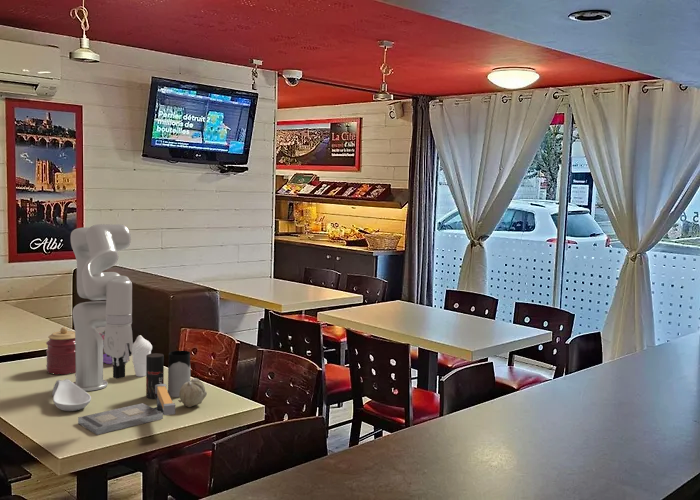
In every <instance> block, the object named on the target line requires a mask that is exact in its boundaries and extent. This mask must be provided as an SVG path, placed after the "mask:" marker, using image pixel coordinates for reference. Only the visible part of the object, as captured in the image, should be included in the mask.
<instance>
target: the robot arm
mask: <svg viewBox="0 0 700 500" xmlns="http://www.w3.org/2000/svg"><path fill="white" fill-rule="evenodd" d="M131 240H132V236H131V231H130V230H129V228H128V227H127V226H126V225H124V224H121V223H117V224H116V223H115V224H113V223H110V224H105V223H103V224H102V223H101V224H94V225H92V226H90V227H88V226H87V227H78V228H75V229H73V230H72V231H71V233H70V245H71V249H72V250H73V254H74V256H75V260H76V290H77V295H78V296H79V297H80V298H82V299H87V300H90V301H85V302H79V303H78V304H76V305H75V306H74V307H73V309H72V321H73V326H74V332H75V352H76V372H75V373H74V374H75V375H74V377H75V381H74V382H73V383H74V384H75V385H77V386H78V387H80V388H81V389H83V390H84V391H85V392H90V391H92V392H93V391H98V390H102V389H104V388H106V387H107V386H108V381H107V380H106V379H104V363H103V339H102V336H101V335H100V334H99V333H98V332H97V331H96V330H95V328H98V327H105V336H104V352H105V353H106V354H107V355H109V356H110V357H111V358H112V364H111V365H112V378H113V379H116V380H118V379H123V378H125V377H126V365H127V363H129V362H130V360H131V359H130V357H131V356H132V352H133V343H134V342H133V330H132V324H133V283H132V280H130V278H129V276H126V275H121V274H120V273H118V272H116V271H106V270H108V269H110V268H112V267H114V266H115V265H116V264H118V263H117V262H118V261H119V252H118V251H123V250H125V249H127V248H129V247H130V245H131ZM126 362H127V363H126Z"/></svg>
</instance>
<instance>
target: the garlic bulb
mask: <svg viewBox="0 0 700 500" xmlns="http://www.w3.org/2000/svg"><path fill="white" fill-rule="evenodd" d="M207 393H208V392H207V391H206V388H205V386H204V384H203V382H202V381H201V380H200V379H199V378H197V377H193V378H192V379H190V381H189V382H186V383H184V384H183V385H182V387H181V389H180V392H179V396H180V397H179V399H177V402H179V403H182V404H183V405H184V406H186V407H188V408H191V407H193V406H198V405H200V404H202V402H203V400H204V399H205V398H206V397H207Z"/></svg>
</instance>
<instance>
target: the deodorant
mask: <svg viewBox="0 0 700 500" xmlns="http://www.w3.org/2000/svg"><path fill="white" fill-rule="evenodd" d="M164 355H165V354H163V353H157V352H156V353H154V352H153V353H151V354H148V355H146V376H145V377H146V378H145V379H146V380H145V381H146V382H145V383H146V385H145V389H146V391H145V392H146V393H145V396H146V397H145V398H147V399H149V400H157V394H155V385H157V384H165V383H164V380H165V379H164V376H165V374H164V373H165V372H164V370H165V369H164V365H165V363H164V362H165V360H164V359H165V357H164Z"/></svg>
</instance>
